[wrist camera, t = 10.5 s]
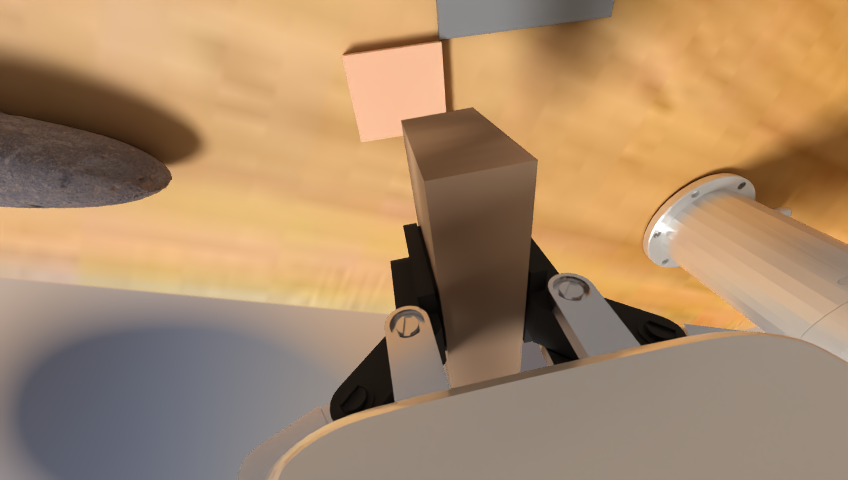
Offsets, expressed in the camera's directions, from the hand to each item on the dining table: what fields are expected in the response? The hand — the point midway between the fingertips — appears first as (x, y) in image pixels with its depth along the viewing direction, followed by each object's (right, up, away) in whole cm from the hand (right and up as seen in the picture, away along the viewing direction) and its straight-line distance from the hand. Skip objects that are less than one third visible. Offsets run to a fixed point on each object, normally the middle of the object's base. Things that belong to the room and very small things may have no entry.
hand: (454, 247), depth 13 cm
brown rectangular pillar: (0, +1, +1) cm, 1 cm away
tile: (-3, +9, +13) cm, 16 cm away
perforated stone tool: (-27, +7, +11) cm, 30 cm away
